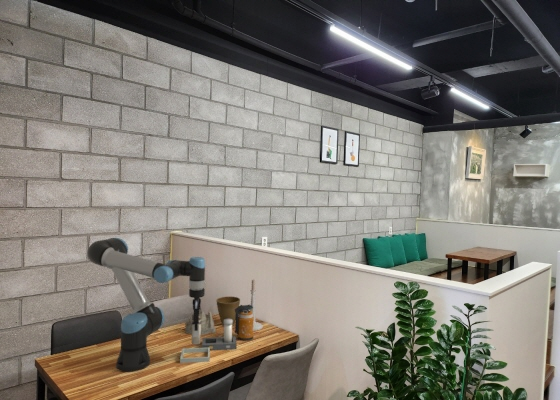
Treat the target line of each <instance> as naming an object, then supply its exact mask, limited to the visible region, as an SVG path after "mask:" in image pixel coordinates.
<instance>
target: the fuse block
mask: <svg viewBox="0 0 560 400" xmlns="http://www.w3.org/2000/svg"><path fill="white" fill-rule="evenodd" d="M201 339H202V340H201V348H209V347H210V351H225V350H226V351H228V350H237V345H238V344H237V343H238V342H237V337H236V336H232V342H224V336H217V337H216V336H215V337H214V336H213V337H212V336H210V337H202V338H201Z"/></svg>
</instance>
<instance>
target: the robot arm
mask: <svg viewBox="0 0 560 400" xmlns="http://www.w3.org/2000/svg"><path fill="white" fill-rule="evenodd" d="M128 251H129V246H128V244H127V241H125V240H124V239H122V238H119V237H110V238H106V239H101V240H95V241H94V242H92V243H91V244H90V245H89V246H88V249H87V252H86V253H87V254H86V255H87V257H88V259H89V261H90V262H91V263H93V264H94V265H97V266H101V267H105V268H107V269H110V270H111V271H112V272H113V274H114V277H115V278H116V280H117V282H118V284H119V286H120V288H121V291H122V292H123V293H124V297H126V299H127V302H128V303H129V305H130V307H131V310H132V312H131V313H129V314H127V315H125V316H124V317H123V318H122V319H121V325H120V351H119V354H118V357H117V360H116V366H115V367H116V369H117V370H118V371H120V372H124V373H126V372H127V373H129V372H132V373H133V372H138V371H141V370H144V369H146V368H147V367H149V366H150V364H151V356H150V353H149V349H148V348H147V347H148V346H147V342H148V337H149V336H150V335H152V334H153V333H155V332H156V331H158V330H159V329H160V328H161V327H162V326H163V325H164V322H165V312H164V311H163V309H161V308H160V307H158V306H156V305H155V303H154V302H153V301H150V300H149V299H148V297H147V295H146V293H145V291H144V290H143V288H142V286H141V284H140V282H139V280H138V278H137V277H136V275H135V274H137V275H142V276H144V277H148V278H152V279H154V280H155V281H156V282H157V283H159V284H164V283H168V282H170V281H171V280H174V279H176V278H178V277H189V280H188V284H189V285H188V287H189V289H188V292H189V293H188V296H189V297H190V298H193V299H192V310H193V314H194V322H193V323H192V324H193V337H199V314H200V309H201V304H202V303H201V302H202V299H201V298H202V297H204V296H205V295H206V294H205V291H206V290H205V285H206V284H207V282H206V281H205V278H206V277H205V276H206V273H205V272H206V260H205V258H204V257H202V256H193V257H190V258H189V260H177V259H173V260H171V259H169V260H168V261H167V262H166V264H165V263H161V262H158V261H154V260H150V259H148V258H147V259H146V258H143V257H140V256H136V255H132V254H128V253H129V252H128Z"/></svg>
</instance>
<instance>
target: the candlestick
mask: <svg viewBox="0 0 560 400" xmlns="http://www.w3.org/2000/svg"><path fill="white" fill-rule="evenodd" d="M255 288H256V280H255V279H251V290H250V294H251V298H250V300H251V301H250V305H251V306H253V308H251V310H250V311H252V313H253V317H254V329H253V332H255V331H259V330H262V329H263V324H262V323H260V322H258V321H256V306H255V305H256V301H255V299H256V298H255V295H256V289H255Z"/></svg>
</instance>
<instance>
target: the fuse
mask: <svg viewBox="0 0 560 400" xmlns="http://www.w3.org/2000/svg"><path fill="white" fill-rule="evenodd" d="M232 324H233V320H232V319H224V326H223V337H224V342H232V337H233V326H232Z"/></svg>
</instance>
